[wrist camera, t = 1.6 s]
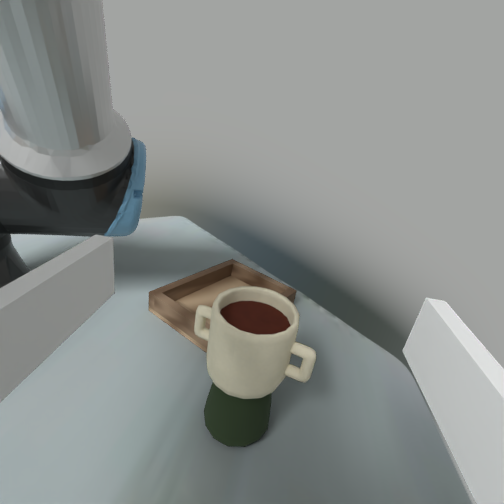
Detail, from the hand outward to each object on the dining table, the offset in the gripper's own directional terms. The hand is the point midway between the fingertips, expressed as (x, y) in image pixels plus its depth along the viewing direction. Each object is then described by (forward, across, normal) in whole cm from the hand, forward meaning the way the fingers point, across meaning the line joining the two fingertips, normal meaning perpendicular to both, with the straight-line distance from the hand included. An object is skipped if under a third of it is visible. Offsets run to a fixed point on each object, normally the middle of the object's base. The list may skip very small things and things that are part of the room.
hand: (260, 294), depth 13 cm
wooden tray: (+27, -5, -20) cm, 34 cm away
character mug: (+10, 0, -20) cm, 22 cm away
